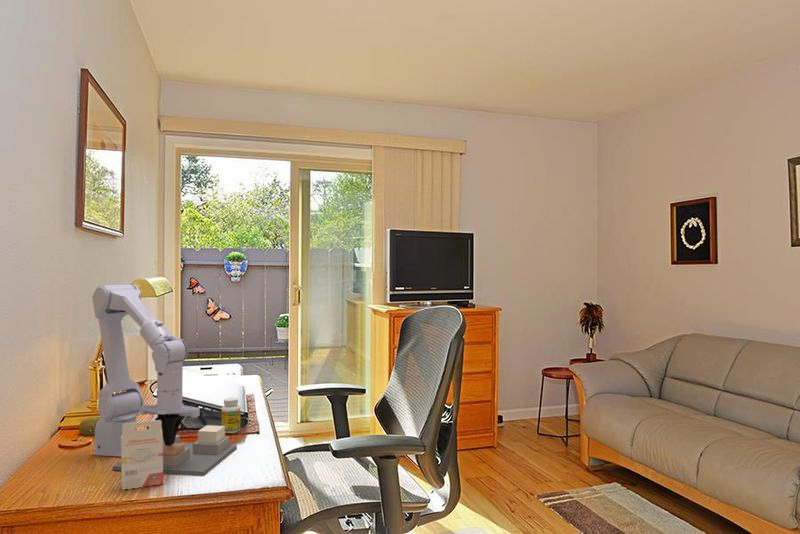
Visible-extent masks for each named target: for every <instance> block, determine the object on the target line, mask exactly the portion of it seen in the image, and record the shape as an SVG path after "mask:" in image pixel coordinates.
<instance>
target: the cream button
mask: <svg viewBox="0 0 800 534" xmlns="http://www.w3.org/2000/svg"><path fill="white" fill-rule="evenodd" d="M225 436H226V433H225V426H222V425H211V424H210V425H205V426H203V427H202V428H200V429H199V430H197V440H198V443H208V444H218V443H219V442H220V441H222V440H223V439H224V438H225Z"/></svg>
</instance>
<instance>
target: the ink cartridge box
mask: <svg viewBox="0 0 800 534" xmlns="http://www.w3.org/2000/svg"><path fill="white" fill-rule="evenodd" d="M161 424H162V422H161V420H155V419H154V420H147V421H146V420H145V421H136V422H135V423H125V424H123V425H122V437H121V460H120V462H121V471H120V472H121V490H122V491H125V489H128V490H133V489H132V488H135V489H140V488H139V487H141V488H147V487H146V486H148V487H154V486H153V485H155V486H160V485H161V484H162V485H164V474H163V434H162V428H161V427H162V425H161ZM142 426H143V427H145V428H146V427H148V428H147V429H139V430H137V428H141V427H142ZM135 428H136V430H135Z"/></svg>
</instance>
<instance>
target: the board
mask: <svg viewBox="0 0 800 534" xmlns="http://www.w3.org/2000/svg"><path fill="white" fill-rule="evenodd" d="M180 437H181V435H179V434H176V437H175V442H174V443H179V444H185V448H184V450H183V451H182V452H180V453H179V454H177V455H176V456H163V475H165V474H166V475H167V474H169V475H180V474H182V475H183V476H198V477H199V476H200V477H201V476H202V477H204V476H206V475H207V474H208V473H209V472H210V471H212V470H213V469H214V468H215V467H217V466H218V465H219V464H220V463H221V462H222V461H224V460H225V459H226V458H228V457H229V456H230V455H231V454H233V452H235V451H236V450H237V448H238V445H235V444H230V436H226V435H225V438H224V439H223V440H222V441H220V442H219V443H218V444H208V443H198V439H197V440H195V442H186V441H185V442H183V441H181V438H180ZM180 441H181V442H180ZM163 444H165V443H163ZM113 470H119V471H118V472H121V461H119V462H118V463H116V464H114V465H113V466H112V471H113ZM182 475H181V476H182Z"/></svg>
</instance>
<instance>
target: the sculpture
mask: <svg viewBox="0 0 800 534" xmlns="http://www.w3.org/2000/svg"><path fill="white" fill-rule="evenodd" d="M101 418H102V417H101V416H93V417H89V418H86V419H83V420H82V421H81V422H80V423H79V425H78V431H79V432H80V433H81V434H82V435H84V436H95V427H96V424H97V422H98V421H99V420H100V419H101ZM90 430H91V431H90Z"/></svg>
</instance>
